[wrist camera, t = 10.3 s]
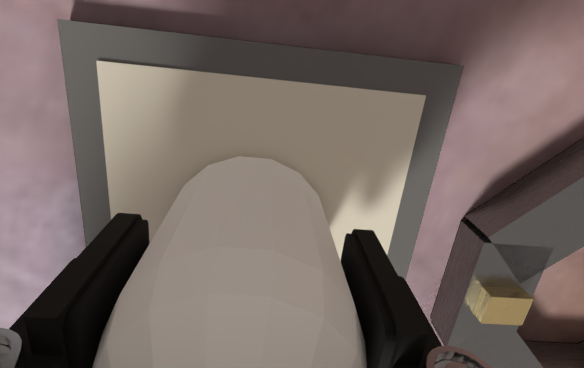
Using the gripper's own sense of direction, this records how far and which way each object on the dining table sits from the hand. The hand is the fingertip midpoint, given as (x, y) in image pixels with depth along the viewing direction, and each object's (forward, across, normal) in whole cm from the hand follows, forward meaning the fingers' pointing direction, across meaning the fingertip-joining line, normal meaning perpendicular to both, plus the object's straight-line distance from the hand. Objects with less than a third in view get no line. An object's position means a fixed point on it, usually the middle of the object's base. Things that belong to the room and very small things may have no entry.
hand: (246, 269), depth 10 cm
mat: (+3, 0, 0) cm, 3 cm away
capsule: (+3, 0, 0) cm, 3 cm away
